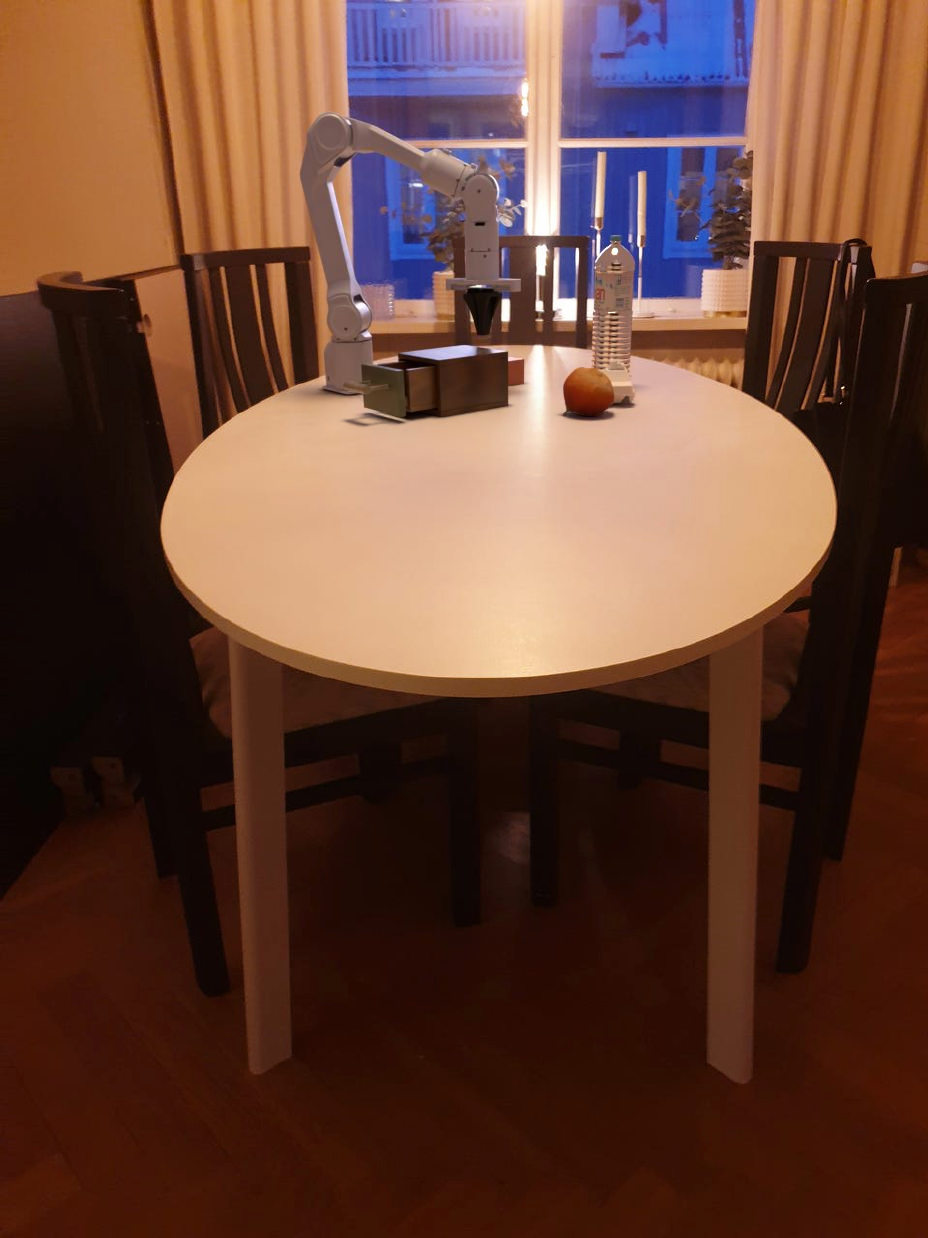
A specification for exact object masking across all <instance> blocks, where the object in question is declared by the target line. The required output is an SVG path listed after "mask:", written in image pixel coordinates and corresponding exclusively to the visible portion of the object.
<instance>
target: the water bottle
mask: <svg viewBox="0 0 928 1238" xmlns="http://www.w3.org/2000/svg"><path fill="white" fill-rule="evenodd" d="M622 239H623V237H622V235H621V234H617V235H616V234H615V235H614V234H613V235H610V236H609V240H610V241H609V242H610V245H609V246H607V247H606V248H604V249H603V250H602V251H601V252H600V254H599V255H598V256H597V258H596V259H595V262H594V269H593V270H594V271H593V272H595V273H594V289H593V291H594V292H593V311H592V330H591V331H592V333H591V337H592V338H591V348H592V349H591V362H590V363H591V366H590V368H595V369H597V370H598V371H600V372H602V373H604V371H605V368H607V366H608V365H609V361H610V360H614V359H617V361H618V360H619V361H620V362H621V361H622V363H624V364H625V367H626V369H627V371H628V375H631V373H630V372H631V370H630V369H631V356H632V355H631V353H632V336H633V335H632V331H633V327H632V326H633V314H634V310H633V301H634V280H635V271H636V261H635V259H634V257H633V255H632V254H631V252H630V251H629V250H628V249H627V248H625V247H624V246H623V245H621V242H622Z"/></svg>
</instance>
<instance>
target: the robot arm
mask: <svg viewBox="0 0 928 1238" xmlns="http://www.w3.org/2000/svg"><path fill="white" fill-rule="evenodd" d="M358 153H359V154H363V155H365V154H371V153H372V154H373V153H377V154H379V155H382V156H384V157H386V158H388V159H389V160H392V161H395V162H397V163H399V164H401V165H403V166H406V167H407V168H409V169H412V170H414V171H416V172H417V173H418V174H419V177H420V180H421V183H422V184H423V185H425V186H426V187H429V188H431V189H433V190H434V191H437V192H439V193H440V194H443V195H445V196H446V197H449V198H451V199H453V200H455V201H459V200H461V199H462V202H463V203H464V205H465V207H464V211H465V221H464V223H463V224H464V225H463V226H464V263H465V264H464V265H465V277H449V278H445V291H466V293H463V294H462V299H463V301H464V302H465V303H466V306H467V308H468V310H469V312H470V314H471V318H472V321H473V324H474V328H475V332H476V336H489V335H490V333H491V329H492V324H493V321H494V316H495V313H496V310H497V308H498V306H499V303H500V301H501V299H502V298H503V292H510V293H517V292H522V287H521V286H522V280H521V278H503V277H500V252H499V250H500V236H499V233H500V232H499V231H500V230H499V229H500V228H499V225H500V224H499V223H500V222H499V220H498V216H499V210H498V205H496V203H497V202H498V200H499V197H500V186H499V184H498V181H497V180H496V179H495V177H494V176H493V175H491V174H489V173H488V172H487V171H477V170H478V167H479V166H478V164H476V163H473V162H471V163H470V164H469V163H467V162H465V161H463V160H461V159H459V158H457V157H455V156H453V155H452V151H451V150H450V149H447V148H446V147H444V148H442V150H441V149H439V148H434V149H432V150H429V151H427V152H425V151H423V150H421V149H419V148H417V147H415V146H413V145H411V144H409V143H408V142H406V141H404V140H403V139H401V138H399V137H396V136H395V135H393V134H391V133H389V132H387V131H385V130H383V129H382V128H380V127H378V126H375V125H373V124H371V123H368V122H364V121H361V120H358V119H356V118H351V117H348V116H347V117H346V116H342V115H341V114H340V113H338V112H335V111H325V112H322V113H321V114H319V115H318V116H317V117H316V118H315V120H314V121H313V123H312V124H311V126H309V129H307V131H306V144H305V148H304V152H303V156H302V161H301V165H300V170H299V179H300V182H301V184H300V185H301V187H302V191H303V196H304V198H305V203H306V206H307V207H306V208H307V210H308V214H309V215H308V216H309V219H310V223H311V227H312V230H313V234H314V238H315V242H316V246H317V250H318V253H319V258H320V261H321V265H322V269H323V273H324V278H325V281H326V285H327V286H326V287H327V289H326V303H327V315H326V324H327V327H328V330H329V331H330V333H331V334H332V335H331V336H330V340H329V341H328V342H327V343H326V344H325V347H324V350H323V363H324V375H325V385H322V386H321V389H323V390H328V391H332V392H335V393H340V394H343V395H355V394H358V393H357V392H353V391H349V390H346V389H344V387H343V384H344V382H345V381H352V382H362V371H361V364H365V363H369V364H374V353H373V339H372V338H373V335H371V333H370V332H369V329H370V328H371V325H372V324H373V318H374V315H373V310H372V308H371V306H370V305H369V303H368V302H367V301H366V300H365V298H364V295H363V290H362V288H361V286H360V285H359V282H358V281H357V279H356V275H355V271H354V267H353V264H352V259H351V255H350V250H349V246H348V243H347V239H346V234H345V230H344V226H343V222H342V217H341V214H340V209H339V205H338V201H337V197H336V192H335V189H334V185H333V183H334V180H335V179H336V177H337V175H338V174H339V172H341V169H342V167H343V166H344V165H345V164H347V163H348V162H349V161H350V160H352V159H353V158H354V157H355V156H356V155H357V154H358ZM477 286H478V287H477ZM479 286H489V287H479Z"/></svg>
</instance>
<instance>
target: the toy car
mask: <svg viewBox="0 0 928 1238" xmlns="http://www.w3.org/2000/svg"><path fill="white" fill-rule="evenodd" d="M604 374H605V375H606V376H607V377H608V378H609V379H610V381H611V383H612V387H613V391H614V401H613V403H612V404H621V403H622V400H624V399H625V397H628V399H629V402H630V404H632V403H634V400H635V398H636V389H635V388H634V385H633V384H634V383H632V379H631V378H632V377H633V375H632V374H629V375H628V371H627V369H626V367H625V364H624V363H622V361H621V362H620V361H619V360H618V361H617V359H614V360H610V361H609V365H608V366H607V368H605V371H604Z"/></svg>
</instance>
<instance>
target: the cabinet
mask: <svg viewBox="0 0 928 1238" xmlns="http://www.w3.org/2000/svg"><path fill="white" fill-rule="evenodd" d="M508 357H509V351H508V350H501V349H495V348H489V347H482V346H474V345H466V344H461V345H454V346H446V347H437V348H428V349H421V350H420V349H419V350H410V351H403V352H398V353H397V362H398V361H405V360H412V361H418V362H423V363H429V364H435V365H437V387H438V408H433V409H427V410H421V411H419V412H420V413H424V414H428V415H432V416H437V417H441V418H443V417H449V416H454V415H460V414H466V413H473V412H478V411H484V410H489V409H490V410H491V409H494V408H502V407H507V406H509V386H508Z"/></svg>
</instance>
